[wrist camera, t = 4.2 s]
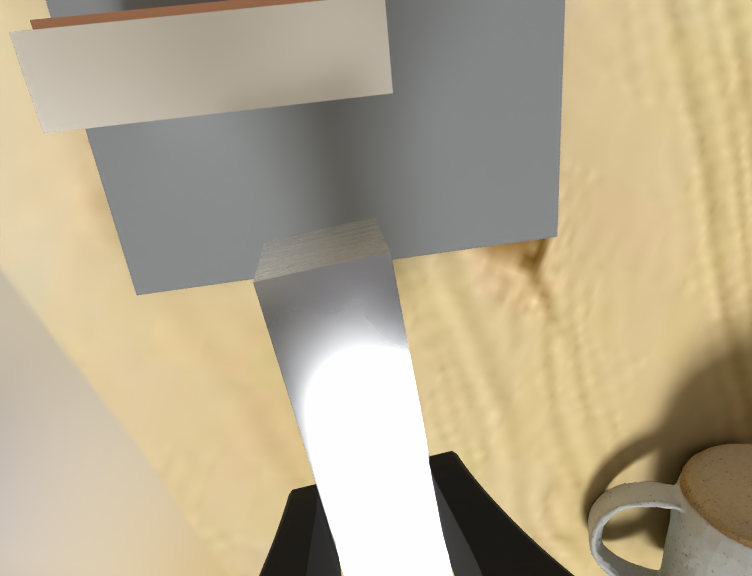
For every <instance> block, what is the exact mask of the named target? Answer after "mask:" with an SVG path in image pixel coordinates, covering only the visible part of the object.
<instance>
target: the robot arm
mask: <svg viewBox="0 0 752 576" xmlns="http://www.w3.org/2000/svg"><path fill="white" fill-rule="evenodd" d="M429 457H430V463H431V464H429V467H430V473H431V478H432V483H433V488H434V494H435V499H436V504H437V509H438V515H439V520H440V525H441V530H442V535H443V539H444V543H445V546H446V550H447V553H448V557H449V560H450V564H451V567H452V570H453V572H454V575H455V576H574V575H573V574H572V573H570V572H569V571H568V570H567V569H566V568H564V567H563V566H562V565H561V564H559V563H558V562H557V561H556V560H555V559H554V558H552V557H551V556H550V555H549V554H548V553H547V552H546V551H545V550H543V549H542V548H541V547H540V546H539V545H538V544H537V543H536V542H535V541H534V540H533V539H532V538H530V537H529V536H528V535H527V534H526V533H525V532H524V531H523V530H522V529H521V528H520V527H519V526H518V525H517V524H516V523H515V522H514V521H513V520H512V519H511V518H510V517H509V516H508V515H507V514H506V513H505V512H504V511H503V510H502V509H501V507H500V506H499V505H498V504H497V503H496V502H495V501H494V500H493V499H492V498H491V497H490V496H489V494H488V493H487V492H486V491H485V490H484V489H483V488H482V486H481V485H480V484H479V483H478V482H477V480H476V479H475V478H474V477H473V475H472V474H471V473H470V472H469V470H468V469H467V468H466V466H465V465H464V464H463V462H462V461H461V459H460V458H459V456H458V455H457V454H456V453H454V452H453V451H449V452H445V453H441V454H437V455H433V456H429ZM259 576H341V568H340V560H339V556H338V552H337V549H336V546H335V543H334V540H333V536H332V533H331V530H330V527H329V524H328V520H327V517H326V514H325V511H324V508H323V504H322V501H321V498H320V495H319V492H318V488H317V485H316V484H314V485H310V486H306V487H302V488H298V489H294V490H292V491H291V493H290V494H289V496H288V500H287V503H286V506H285V509H284V512H283V515H282V518H281V521H280V524H279V527H278V530H277V532H276V535H275V538H274V540H273V543H272V546H271V548H270V551H269V553H268V556H267V558H266V560H265V563H264V565H263V568H262V570H261V573H260V575H259Z"/></svg>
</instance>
